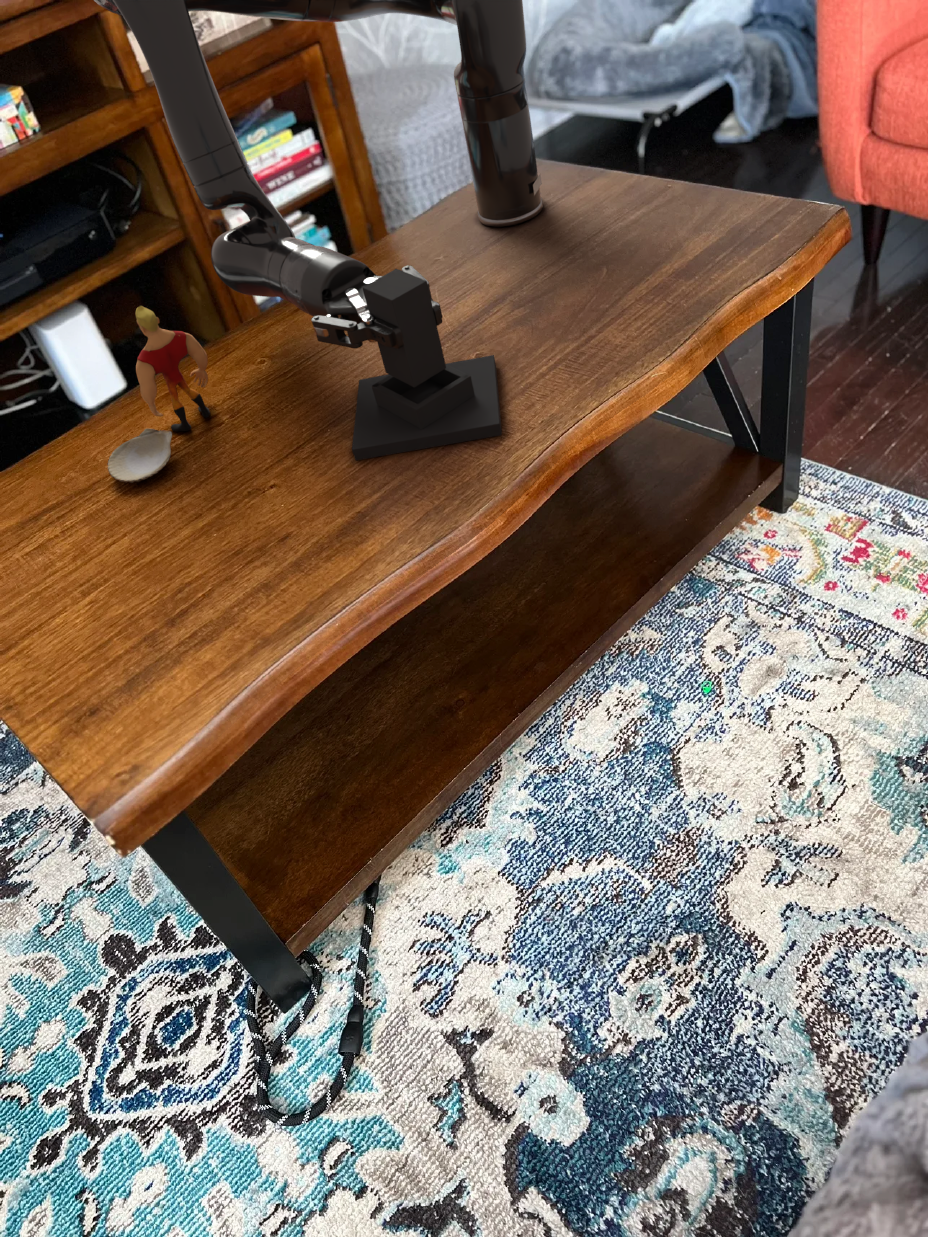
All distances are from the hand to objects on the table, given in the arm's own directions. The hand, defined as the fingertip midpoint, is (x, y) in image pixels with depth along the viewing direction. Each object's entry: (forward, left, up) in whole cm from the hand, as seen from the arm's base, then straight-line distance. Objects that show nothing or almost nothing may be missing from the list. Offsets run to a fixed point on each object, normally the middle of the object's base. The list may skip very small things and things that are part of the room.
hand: (419, 326), depth 97 cm
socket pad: (-2, -2, -11) cm, 12 cm away
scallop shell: (-1, -35, -11) cm, 36 cm away
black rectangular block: (-2, -2, -6) cm, 7 cm away
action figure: (-9, -31, -11) cm, 34 cm away
